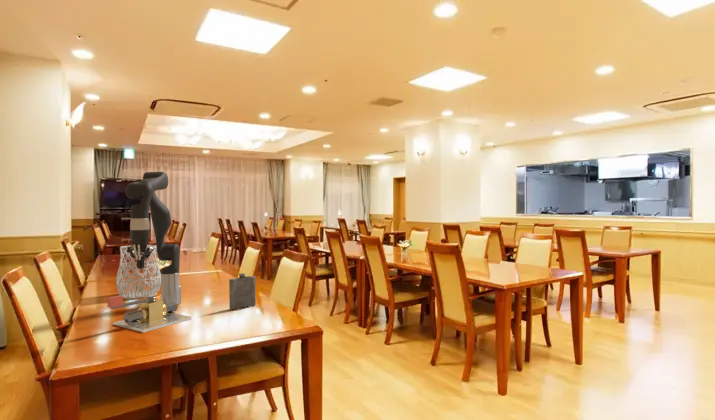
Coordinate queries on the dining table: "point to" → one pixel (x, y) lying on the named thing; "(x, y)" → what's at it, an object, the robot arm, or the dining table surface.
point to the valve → (152, 316)
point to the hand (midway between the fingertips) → (140, 268)
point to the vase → (138, 277)
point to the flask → (242, 291)
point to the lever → (118, 303)
